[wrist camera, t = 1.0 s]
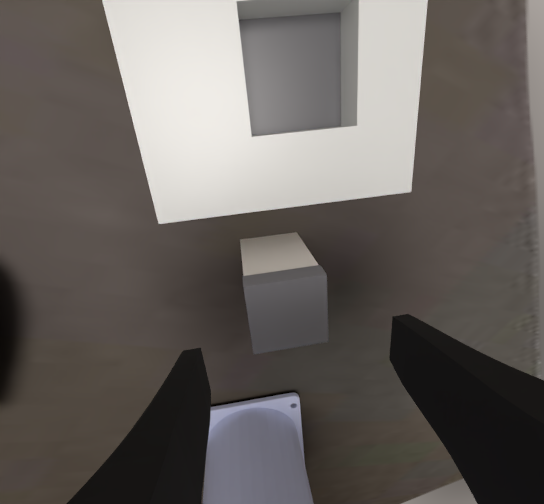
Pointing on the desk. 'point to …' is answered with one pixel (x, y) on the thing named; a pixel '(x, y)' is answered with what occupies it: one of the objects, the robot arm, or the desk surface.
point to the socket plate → (270, 100)
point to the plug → (283, 293)
